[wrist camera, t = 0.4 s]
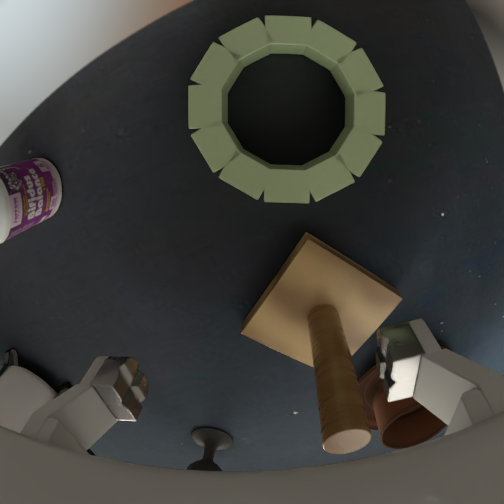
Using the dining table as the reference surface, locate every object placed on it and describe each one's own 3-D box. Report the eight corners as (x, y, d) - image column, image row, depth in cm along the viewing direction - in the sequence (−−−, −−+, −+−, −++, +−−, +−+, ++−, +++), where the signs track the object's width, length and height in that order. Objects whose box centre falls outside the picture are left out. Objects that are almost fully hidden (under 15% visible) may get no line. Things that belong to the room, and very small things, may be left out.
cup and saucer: (469, 363, 26) (492, 402, 20) (389, 427, 30) (400, 467, 24) (414, 313, 23) (443, 359, 18) (320, 394, 28) (326, 445, 22)
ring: (254, 2, 15) (251, -13, 13) (401, 90, 17) (416, 86, 15) (168, 141, 20) (155, 143, 17) (314, 225, 21) (319, 237, 19)
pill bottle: (73, 203, 22) (-10, 247, 13) (36, 225, 23) (-38, 271, 14) (51, 144, 20) (-39, 165, 11) (16, 173, 21) (-64, 202, 12)
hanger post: (305, 231, 21) (337, 350, 10) (396, 289, 23) (465, 405, 11) (242, 322, 25) (220, 456, 13) (330, 364, 26) (350, 487, 14)
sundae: (176, 422, 31) (143, 533, 17) (232, 422, 30) (214, 545, 16) (194, 450, 33) (171, 549, 20) (244, 451, 32) (232, 557, 19)
